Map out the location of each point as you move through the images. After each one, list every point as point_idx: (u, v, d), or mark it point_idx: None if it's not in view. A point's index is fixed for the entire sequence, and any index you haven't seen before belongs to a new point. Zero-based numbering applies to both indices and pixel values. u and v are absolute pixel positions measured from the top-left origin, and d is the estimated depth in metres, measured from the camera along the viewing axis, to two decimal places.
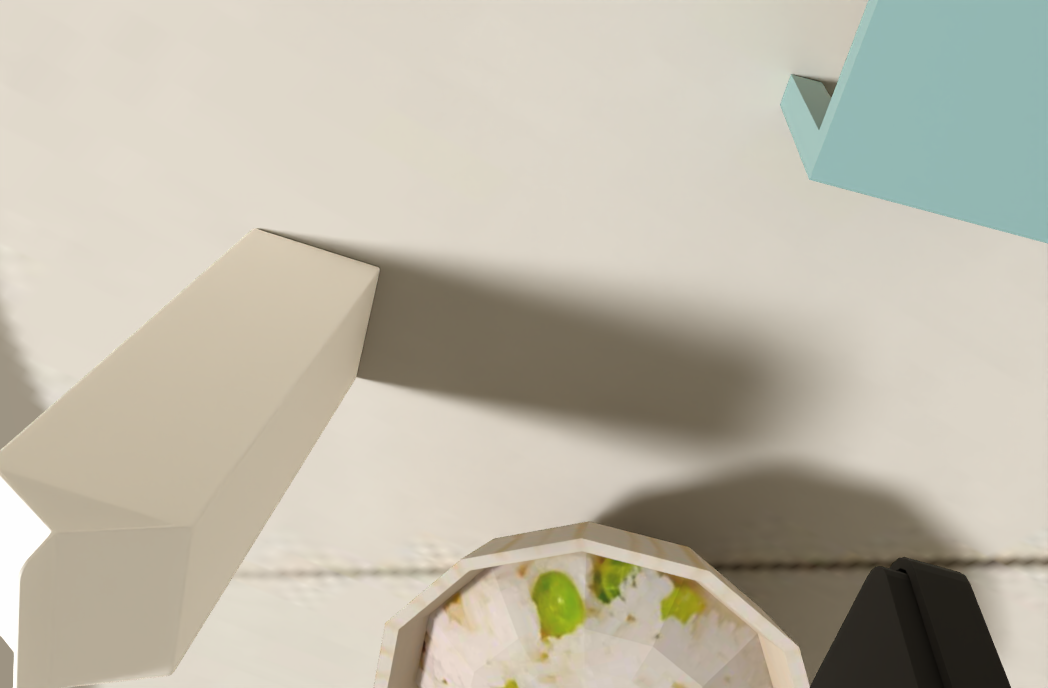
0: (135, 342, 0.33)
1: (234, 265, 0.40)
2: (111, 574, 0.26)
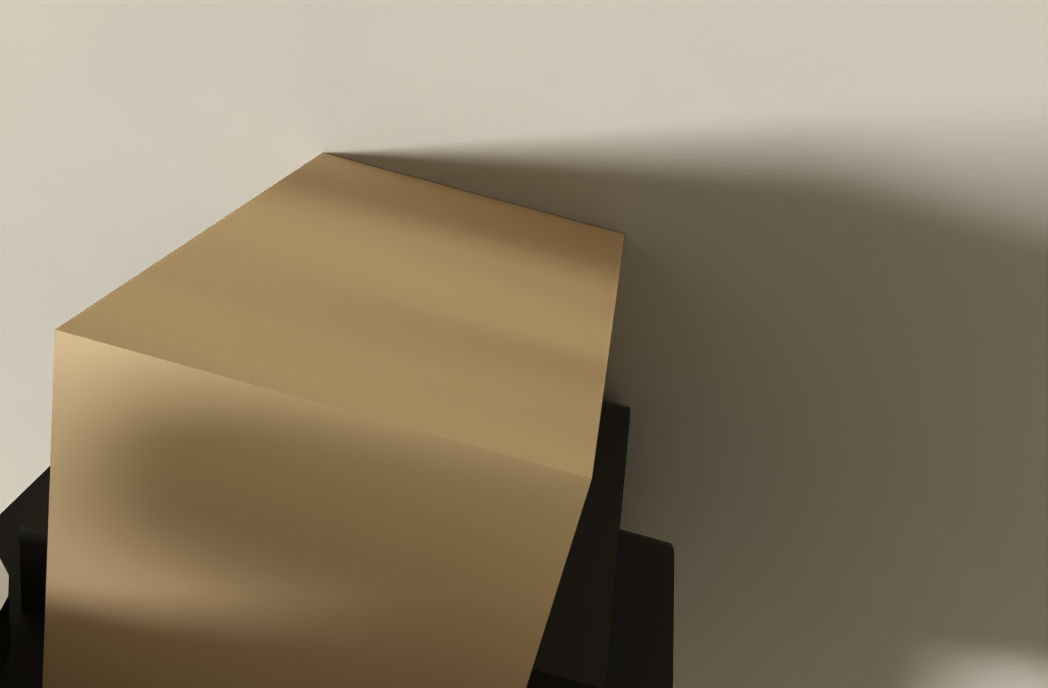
0: None
1: None
2: None
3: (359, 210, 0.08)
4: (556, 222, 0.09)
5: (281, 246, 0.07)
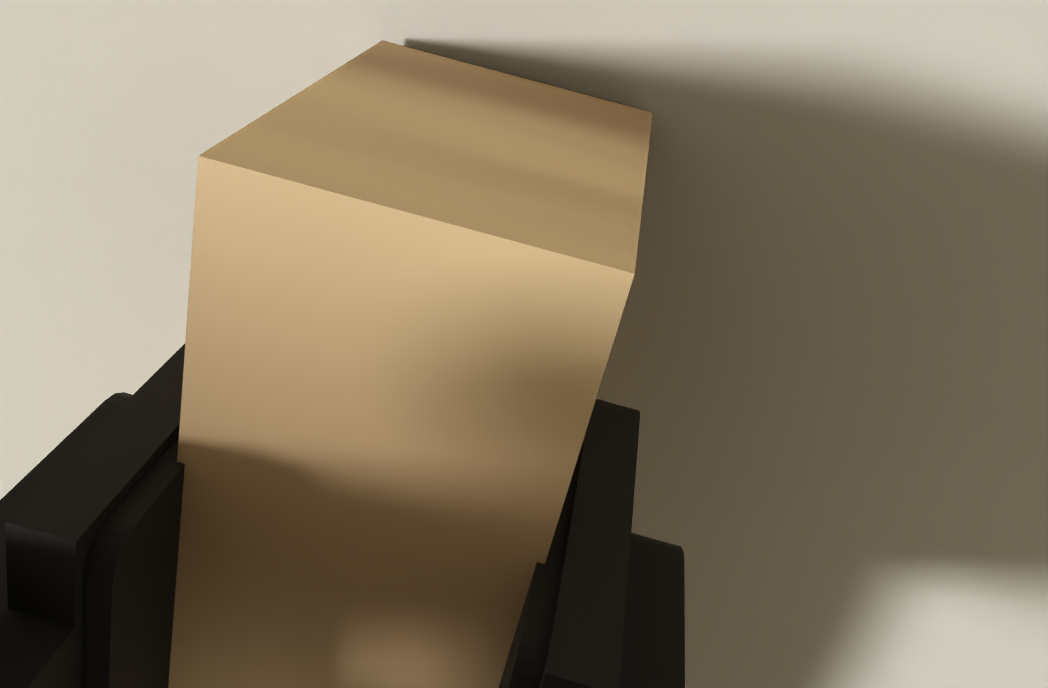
0: None
1: None
2: None
3: (421, 85, 0.09)
4: (592, 101, 0.10)
5: (362, 108, 0.08)
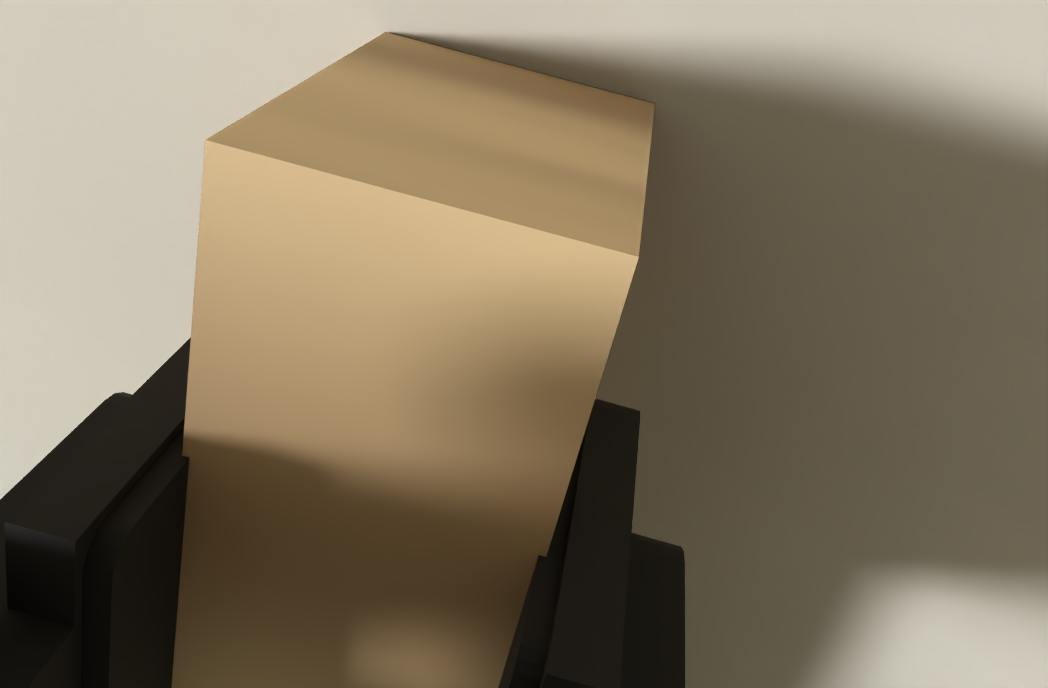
0: None
1: None
2: None
3: (425, 75, 0.09)
4: (594, 92, 0.10)
5: (366, 96, 0.08)
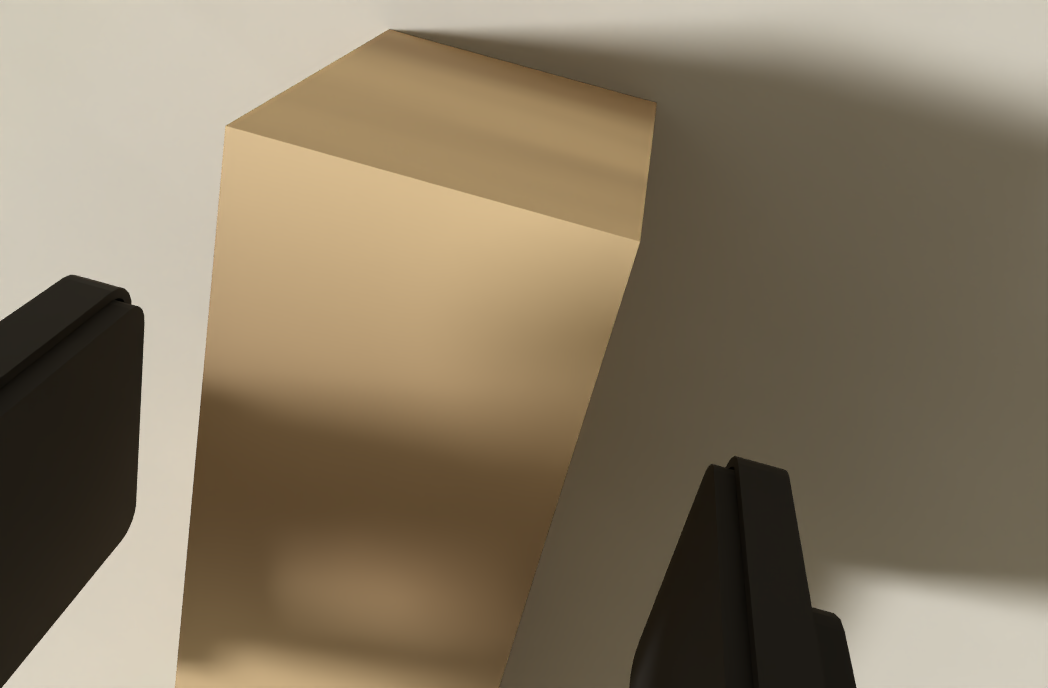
0: None
1: None
2: None
3: (434, 67, 0.10)
4: None
5: (378, 87, 0.09)
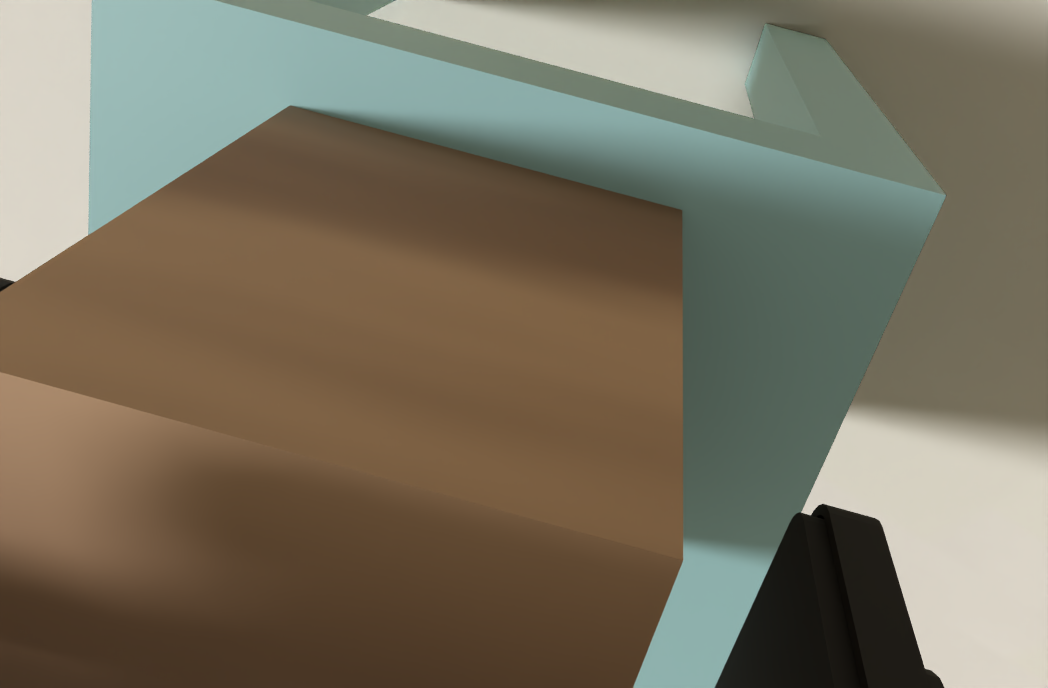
0: None
1: None
2: None
3: None
4: None
5: None
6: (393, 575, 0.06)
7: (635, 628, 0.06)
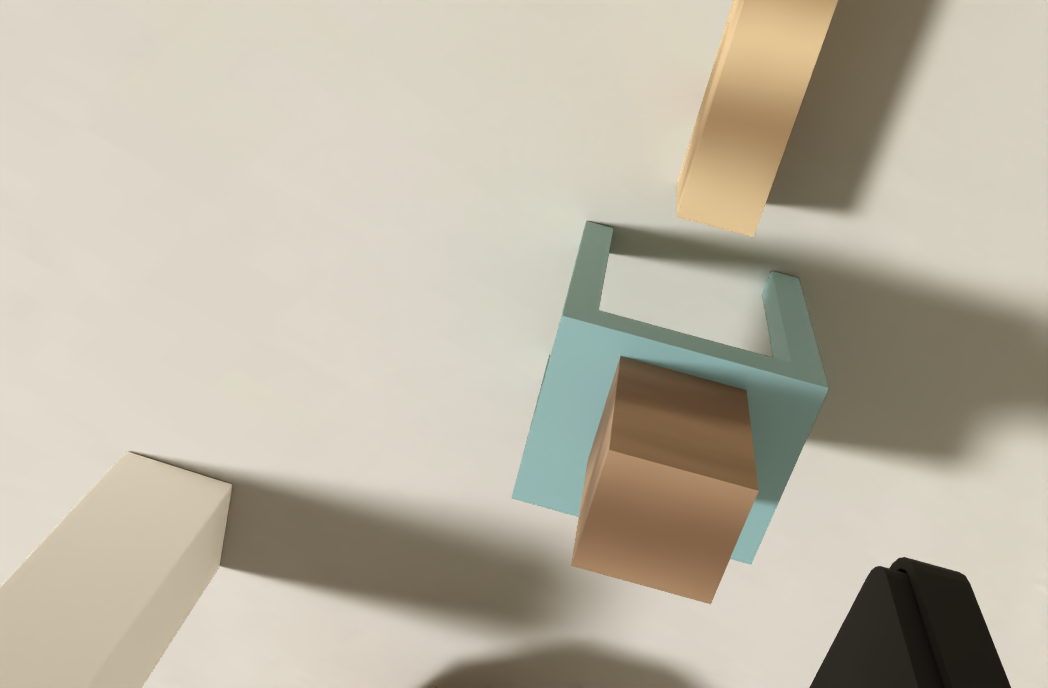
0: (0, 596, 0.41)
1: (100, 498, 0.48)
2: None
3: None
4: None
5: None
6: (699, 494, 0.29)
7: (748, 505, 0.29)
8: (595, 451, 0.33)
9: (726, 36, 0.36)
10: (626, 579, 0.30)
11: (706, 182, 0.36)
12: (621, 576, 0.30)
